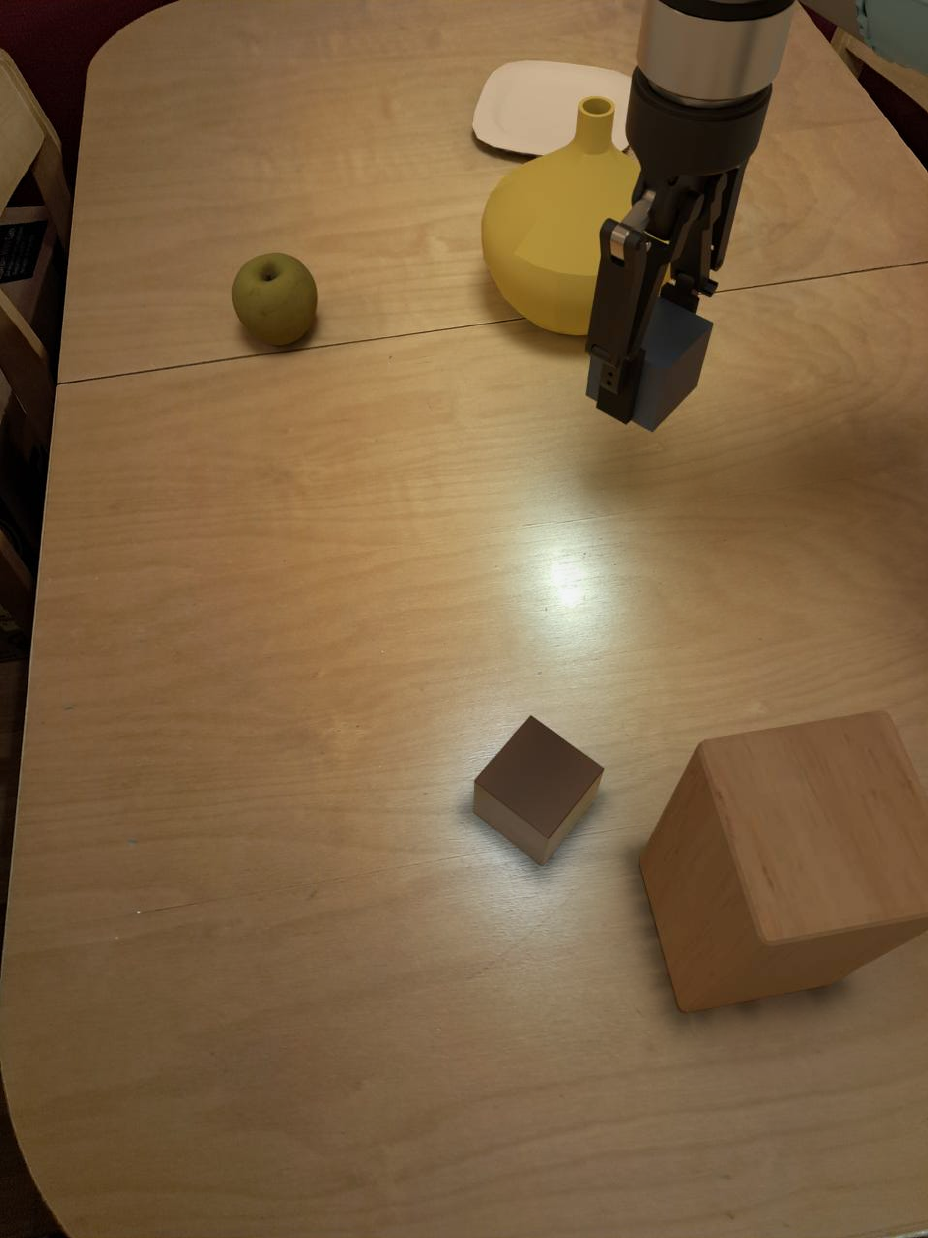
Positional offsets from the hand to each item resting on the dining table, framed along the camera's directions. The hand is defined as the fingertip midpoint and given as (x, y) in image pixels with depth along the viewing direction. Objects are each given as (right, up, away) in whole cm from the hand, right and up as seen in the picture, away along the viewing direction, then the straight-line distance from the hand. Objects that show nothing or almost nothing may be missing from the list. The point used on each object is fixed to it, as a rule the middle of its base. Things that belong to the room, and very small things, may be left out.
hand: (639, 386), depth 70 cm
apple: (-30, +10, +20) cm, 38 cm away
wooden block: (+4, -37, -9) cm, 38 cm away
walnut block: (-8, -30, -5) cm, 32 cm away
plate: (-3, +39, +37) cm, 54 cm away
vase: (-2, +14, +22) cm, 26 cm away
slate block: (0, 0, 0) cm, 0 cm away
